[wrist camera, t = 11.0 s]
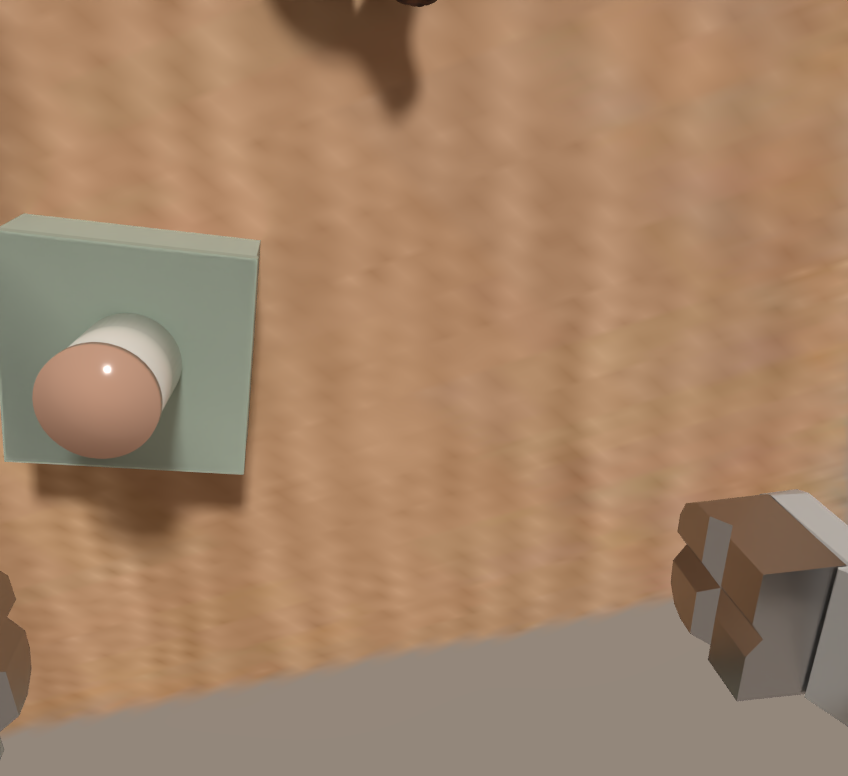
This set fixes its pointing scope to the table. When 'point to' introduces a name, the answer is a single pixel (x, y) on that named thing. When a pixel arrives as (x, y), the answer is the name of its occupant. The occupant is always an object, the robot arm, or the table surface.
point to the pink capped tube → (108, 386)
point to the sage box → (138, 294)
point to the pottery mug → (417, 2)
